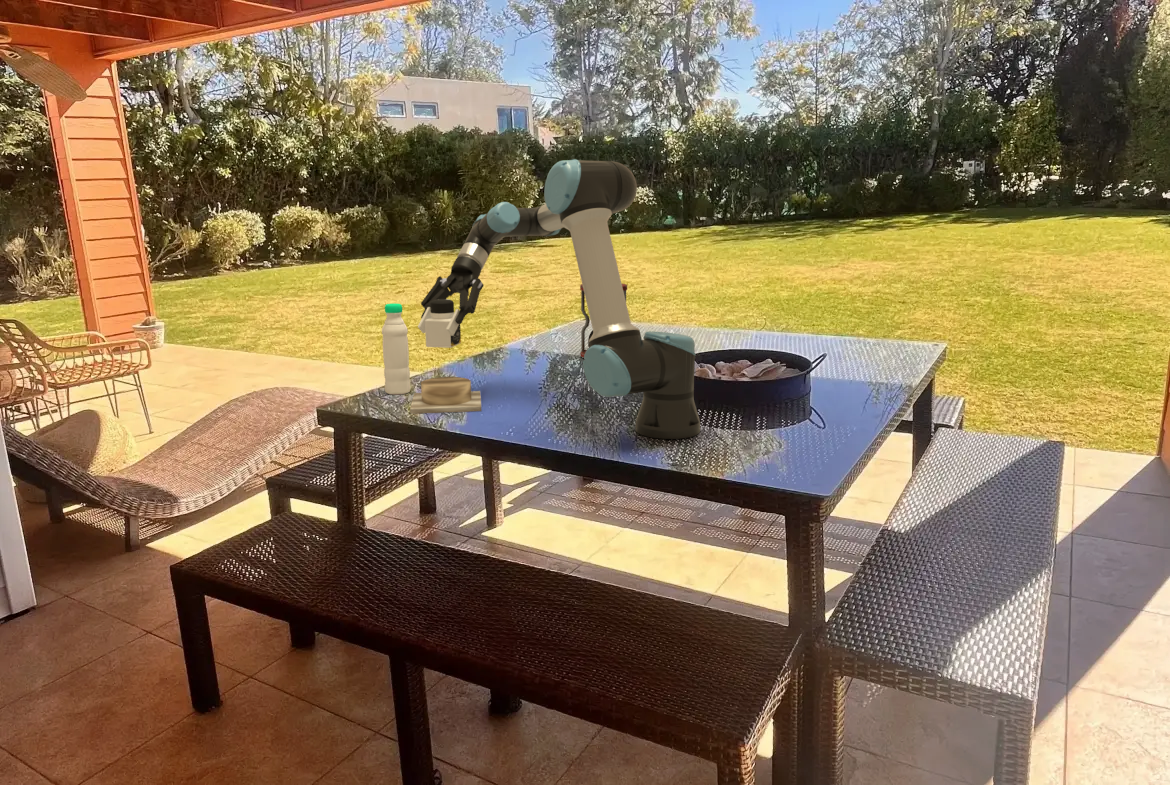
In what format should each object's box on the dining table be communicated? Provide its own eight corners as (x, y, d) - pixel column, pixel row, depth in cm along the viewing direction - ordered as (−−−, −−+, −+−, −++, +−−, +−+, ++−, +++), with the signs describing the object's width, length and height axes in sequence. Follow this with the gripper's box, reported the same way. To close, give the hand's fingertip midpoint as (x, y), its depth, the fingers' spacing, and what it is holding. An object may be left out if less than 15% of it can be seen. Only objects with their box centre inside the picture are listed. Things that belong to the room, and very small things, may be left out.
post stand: (481, 411, 213) (480, 388, 211) (410, 413, 210) (408, 390, 209) (480, 395, 230) (479, 374, 229) (414, 397, 228) (413, 376, 226)
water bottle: (415, 392, 234) (411, 303, 228) (394, 396, 229) (389, 306, 223) (401, 388, 238) (396, 301, 233) (380, 392, 233) (375, 304, 228)
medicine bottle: (451, 348, 213) (449, 301, 210) (425, 347, 214) (423, 300, 212) (461, 343, 220) (459, 298, 217) (436, 342, 221) (434, 297, 218)
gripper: (508, 274, 221) (475, 343, 211) (443, 271, 231) (409, 336, 221) (496, 256, 216) (462, 325, 205) (431, 253, 225) (395, 319, 215)
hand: (435, 331), depth 213 cm, fingers closed on medicine bottle, 8 cm apart
